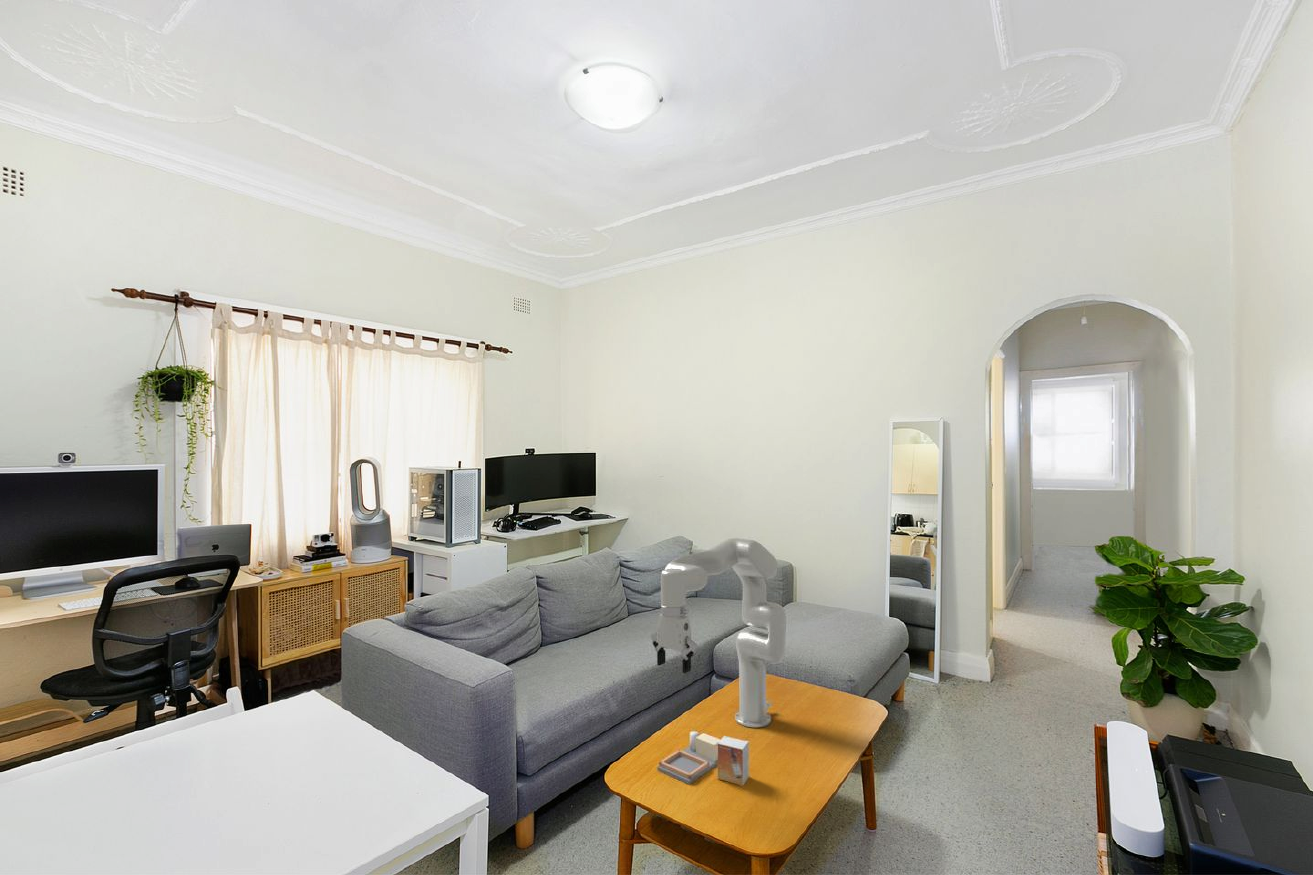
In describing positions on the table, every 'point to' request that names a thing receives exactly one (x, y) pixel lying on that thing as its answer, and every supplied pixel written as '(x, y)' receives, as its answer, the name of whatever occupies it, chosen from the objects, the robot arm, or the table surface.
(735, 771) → the small box
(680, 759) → the assembly board
